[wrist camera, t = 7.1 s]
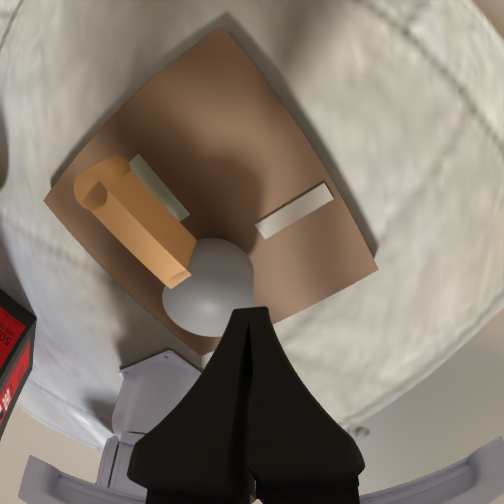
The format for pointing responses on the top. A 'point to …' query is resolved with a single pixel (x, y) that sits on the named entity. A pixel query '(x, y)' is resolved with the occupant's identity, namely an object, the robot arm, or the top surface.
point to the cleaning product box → (14, 353)
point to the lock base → (223, 184)
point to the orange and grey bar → (169, 249)
